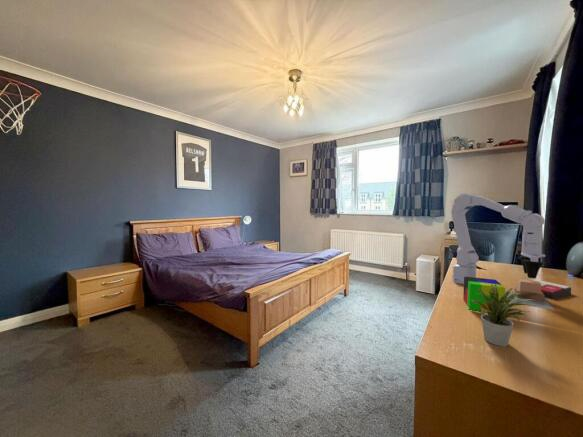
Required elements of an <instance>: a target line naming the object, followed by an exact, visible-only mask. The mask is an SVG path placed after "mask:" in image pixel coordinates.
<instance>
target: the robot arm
mask: <svg viewBox="0 0 583 437" xmlns="http://www.w3.org/2000/svg"><path fill="white" fill-rule="evenodd" d="M453 202H454V203H453V205H452V209H451V211H450V213H451V218H452V221H453V225H454V232H455V235H456V241H457V245H458V247H457V250H456V254H457V255H456V258H455V260H456V262H457V263H458V264H457V263H454V264H453V270H452V275H451V277H452V283H453V284H461V285H464V276H465V277H475V278H477V263H478V262H479V259H480V258H479V255H478V254H477V252H476V250H475V248H474V246H473V244H472V241H471V237H470V232H469V229H468V228H469V227H468V223H467V218H466V213H467V212H468V211H469V210H470V209H471V208H474V207H475V206H483V207H485V208H488V209H491V210H493V211H496V212H498V213H501V217H503V218H505V219H508V220H510V221H513V222H515V223H517V224H521V226H522V228H523V230H522V235H521V236H522V240H521V252H520V255H519V259H520V261H521V264H522V268H523V273H524V274H526V276H527V278H529V279H537V276H538V274H539V271H540V269H541V267H543V265H544V262H543V261H539V258H545V257H546V254H544V253H543V254H542V247H543V246H542V245H543V244H542V243H543V225H544V224H545V218H544V216H542V215H540V214H539V213H533V211H532V210H525V209H523V208H521V207H519V205H517V204H508V205H503V204H501V203H499V202H497V201H495V200H492V199H489V198H487V197H485V196H482V195H478V194H477V195H476V194H475V193H460V194H459V195H458V196H456V197H455V199H454V200H453Z"/></svg>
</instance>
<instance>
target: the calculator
mask: <svg viewBox="0 0 583 437" xmlns="http://www.w3.org/2000/svg"><path fill="white" fill-rule="evenodd" d="M536 281H538V282H540V284H541V292H542V293H543V294H544V295H545V297H544V298H545V299H546V298H547V299H551V300H555V299H559V298H563V297H566V296H570V295H571V294H572V287H570V286H568V285H562V284H559V283H553V282H549V281H545V280H544V281H543V280H540V279H538V280H536Z"/></svg>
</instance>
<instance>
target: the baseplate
mask: <svg viewBox="0 0 583 437" xmlns="http://www.w3.org/2000/svg"><path fill="white" fill-rule="evenodd" d="M507 291H508V290H505V293H506V292H507ZM514 293H515V291H511V292H510V293H509V295H508V297H509V296H510V295H512V294H514ZM508 297H507V298H508ZM514 299H515V300H521V299H526V298H520V297H517V296H515V298H514ZM515 300H512V301H511V302H510V303H512V302H514V301H515ZM522 301H525V302H521V303H520V304H528V305H527V306H529V305H534V306H533V307H535V308H541V309H547V310H551V311H555V308H553V307H552V304H550V303H549V301H548V300H547V299H546V297H544V301H539V300H533V299H532V300H522ZM518 302H520V301H518ZM527 302H529V303H527ZM514 303H517V302H514ZM529 307H530V306H529Z"/></svg>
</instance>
